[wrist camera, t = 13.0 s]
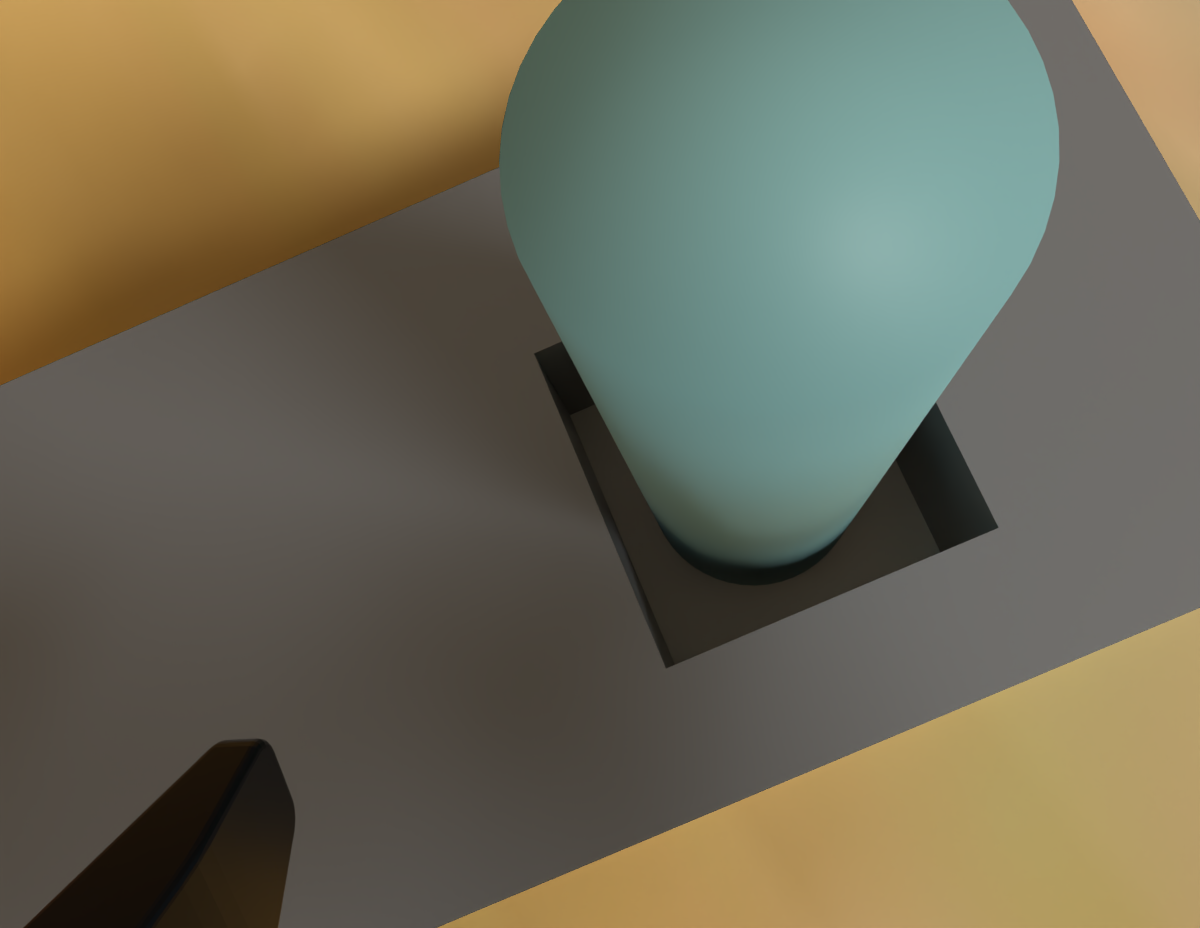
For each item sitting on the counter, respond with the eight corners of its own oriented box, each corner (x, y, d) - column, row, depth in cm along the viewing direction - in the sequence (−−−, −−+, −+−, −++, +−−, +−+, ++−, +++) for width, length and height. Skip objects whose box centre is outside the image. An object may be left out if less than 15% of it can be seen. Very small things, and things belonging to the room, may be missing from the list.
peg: (812, 616, 19) (948, 498, 7) (620, 541, 20) (414, 304, 7) (883, 426, 20) (1135, -19, 7) (693, 359, 21) (618, -159, 8)
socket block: (1231, 565, 19) (1379, 532, 15) (177, 1007, 20) (22, 1100, 15) (969, 85, 21) (1033, -67, 17) (24, 496, 22) (-150, 450, 18)
